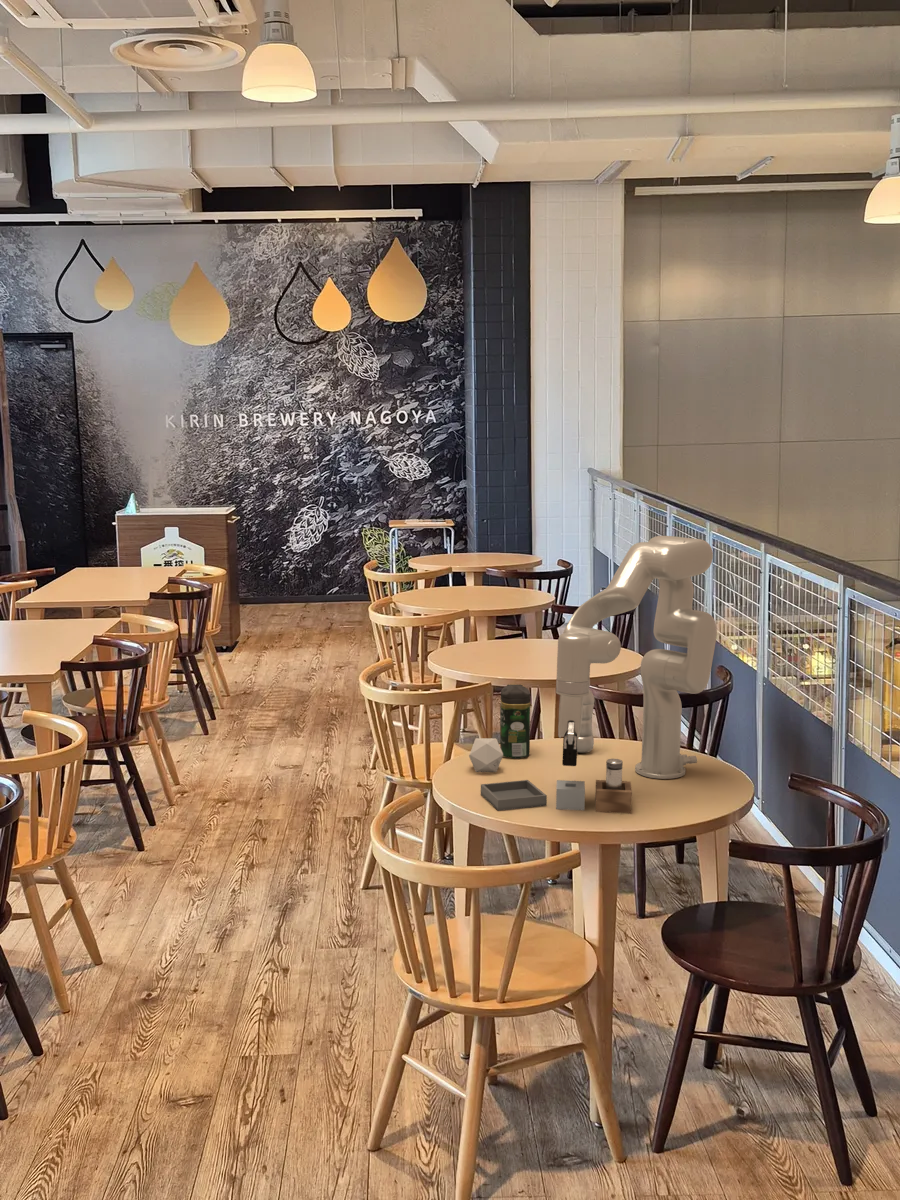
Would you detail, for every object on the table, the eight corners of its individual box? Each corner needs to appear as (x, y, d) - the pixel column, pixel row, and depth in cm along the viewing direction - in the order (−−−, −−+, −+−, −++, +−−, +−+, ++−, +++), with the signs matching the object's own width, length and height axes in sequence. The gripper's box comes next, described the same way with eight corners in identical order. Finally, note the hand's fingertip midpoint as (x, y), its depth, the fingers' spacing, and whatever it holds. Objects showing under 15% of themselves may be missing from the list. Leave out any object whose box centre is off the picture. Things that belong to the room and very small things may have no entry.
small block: (584, 801, 272) (584, 781, 271) (584, 811, 266) (584, 790, 265) (556, 800, 273) (556, 780, 272) (555, 809, 266) (556, 788, 266)
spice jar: (616, 803, 271) (618, 757, 269) (623, 808, 267) (625, 762, 265) (602, 804, 269) (603, 759, 268) (609, 810, 266) (610, 763, 264)
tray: (527, 789, 280) (527, 779, 279) (546, 805, 268) (546, 795, 268) (480, 794, 276) (480, 784, 276) (497, 810, 265) (498, 800, 264)
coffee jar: (498, 749, 314) (499, 682, 311) (527, 749, 314) (529, 682, 311) (500, 759, 304) (501, 690, 301) (530, 759, 304) (532, 690, 301)
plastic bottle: (593, 756, 308) (595, 682, 305) (567, 754, 309) (569, 681, 306) (594, 749, 314) (596, 677, 311) (569, 747, 315) (571, 676, 312)
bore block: (629, 801, 272) (630, 781, 271) (631, 813, 264) (631, 792, 263) (595, 800, 273) (595, 779, 272) (595, 811, 265) (596, 790, 264)
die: (491, 780, 289) (512, 746, 291) (461, 761, 290) (481, 727, 291) (490, 782, 297) (510, 749, 299) (460, 763, 298) (480, 730, 300)
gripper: (556, 678, 273) (553, 748, 276) (555, 694, 256) (552, 769, 259) (588, 680, 273) (585, 750, 275) (589, 696, 256) (586, 771, 258)
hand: (569, 759), depth 267 cm, fingers open, 9 cm apart
